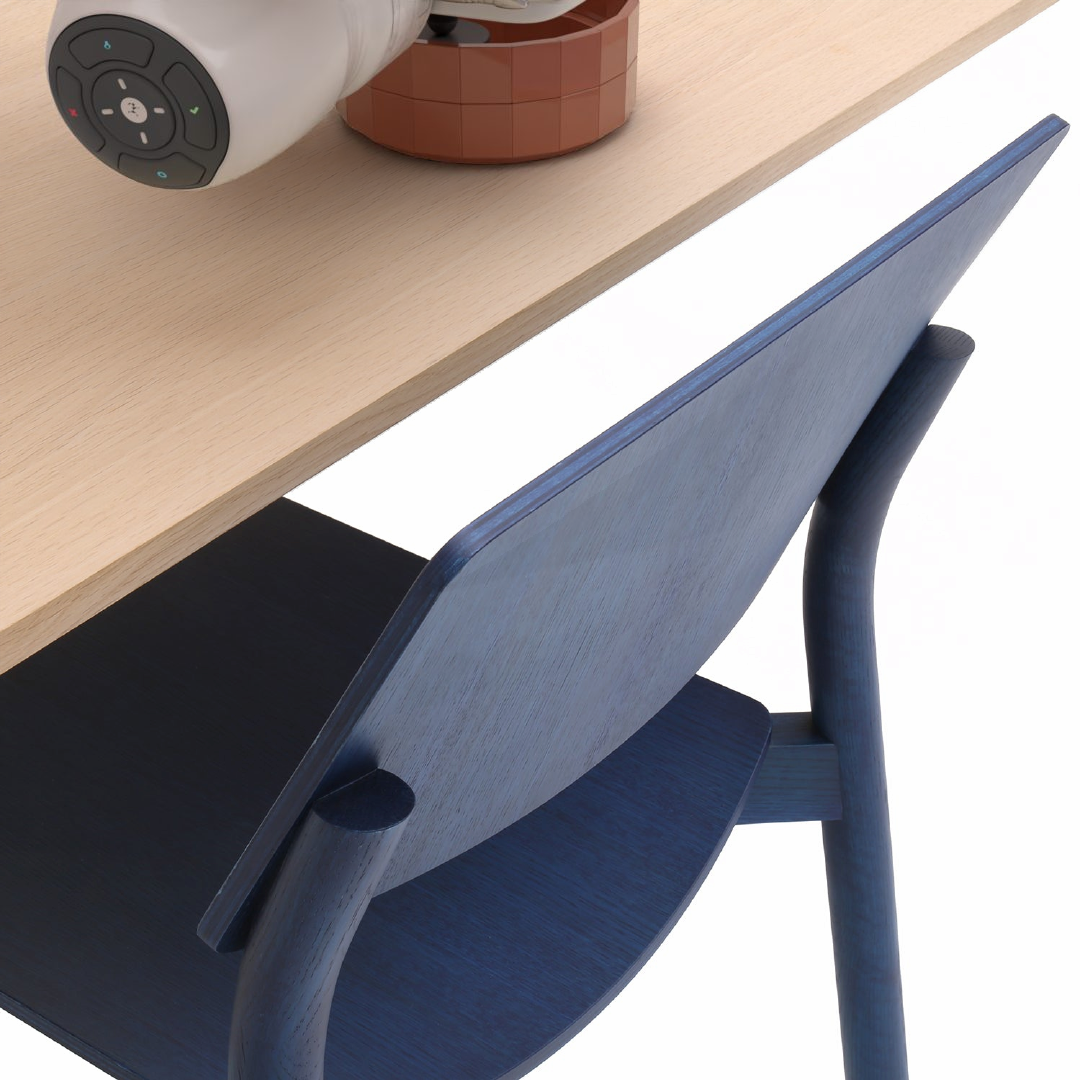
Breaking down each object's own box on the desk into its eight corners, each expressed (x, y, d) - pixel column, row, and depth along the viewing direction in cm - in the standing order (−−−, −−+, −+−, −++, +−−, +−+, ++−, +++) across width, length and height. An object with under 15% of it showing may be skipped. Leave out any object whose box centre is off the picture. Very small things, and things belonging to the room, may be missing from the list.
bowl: (383, 188, 79) (376, 63, 75) (307, 77, 90) (298, -36, 87) (681, 146, 83) (687, 26, 80) (571, 45, 95) (573, -64, 91)
